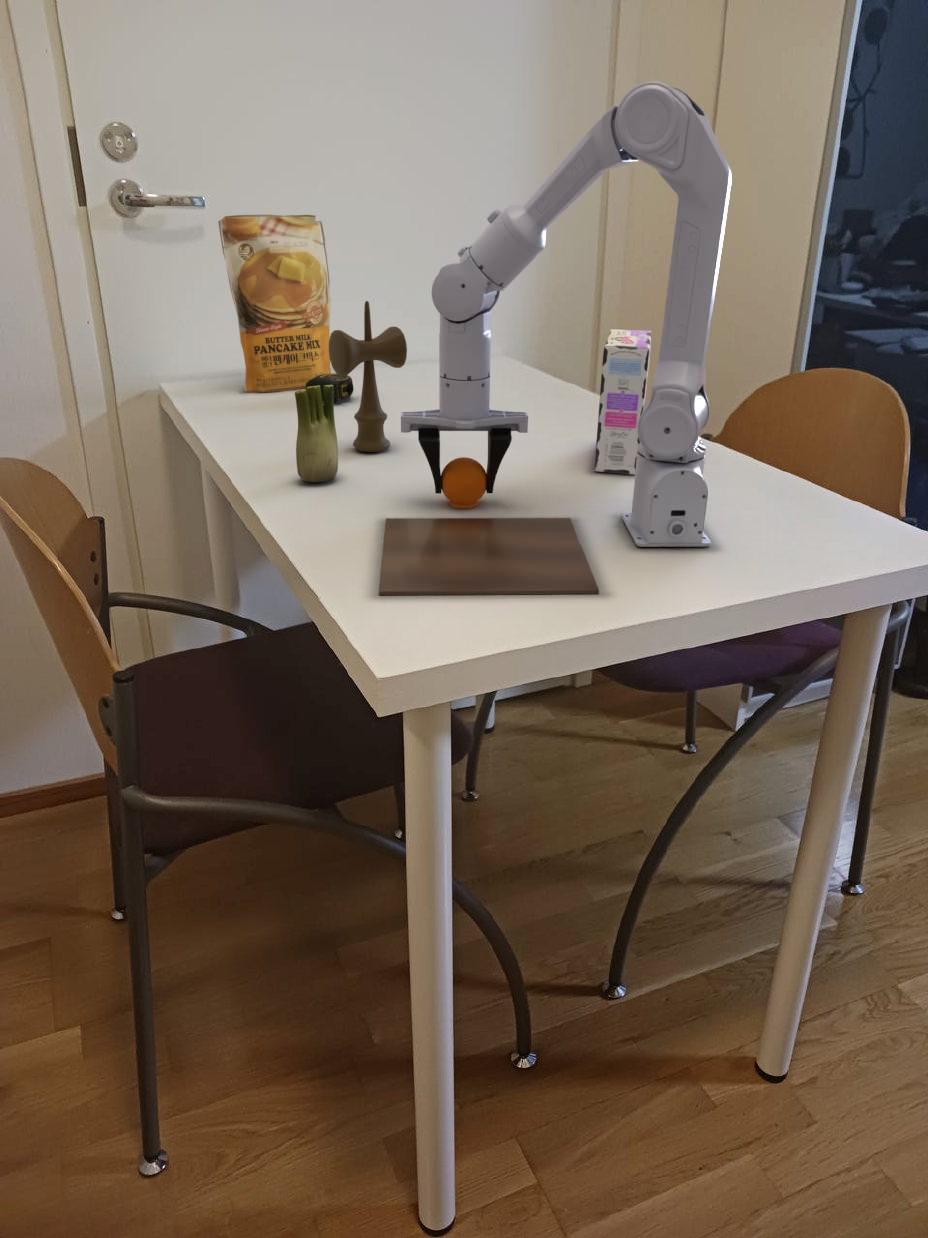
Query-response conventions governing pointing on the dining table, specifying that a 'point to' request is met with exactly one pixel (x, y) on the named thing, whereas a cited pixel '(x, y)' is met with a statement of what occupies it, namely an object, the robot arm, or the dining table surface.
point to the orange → (463, 482)
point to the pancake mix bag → (279, 297)
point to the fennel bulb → (316, 434)
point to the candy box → (622, 399)
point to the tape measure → (334, 385)
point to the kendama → (368, 375)
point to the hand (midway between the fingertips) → (463, 490)
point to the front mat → (483, 557)
